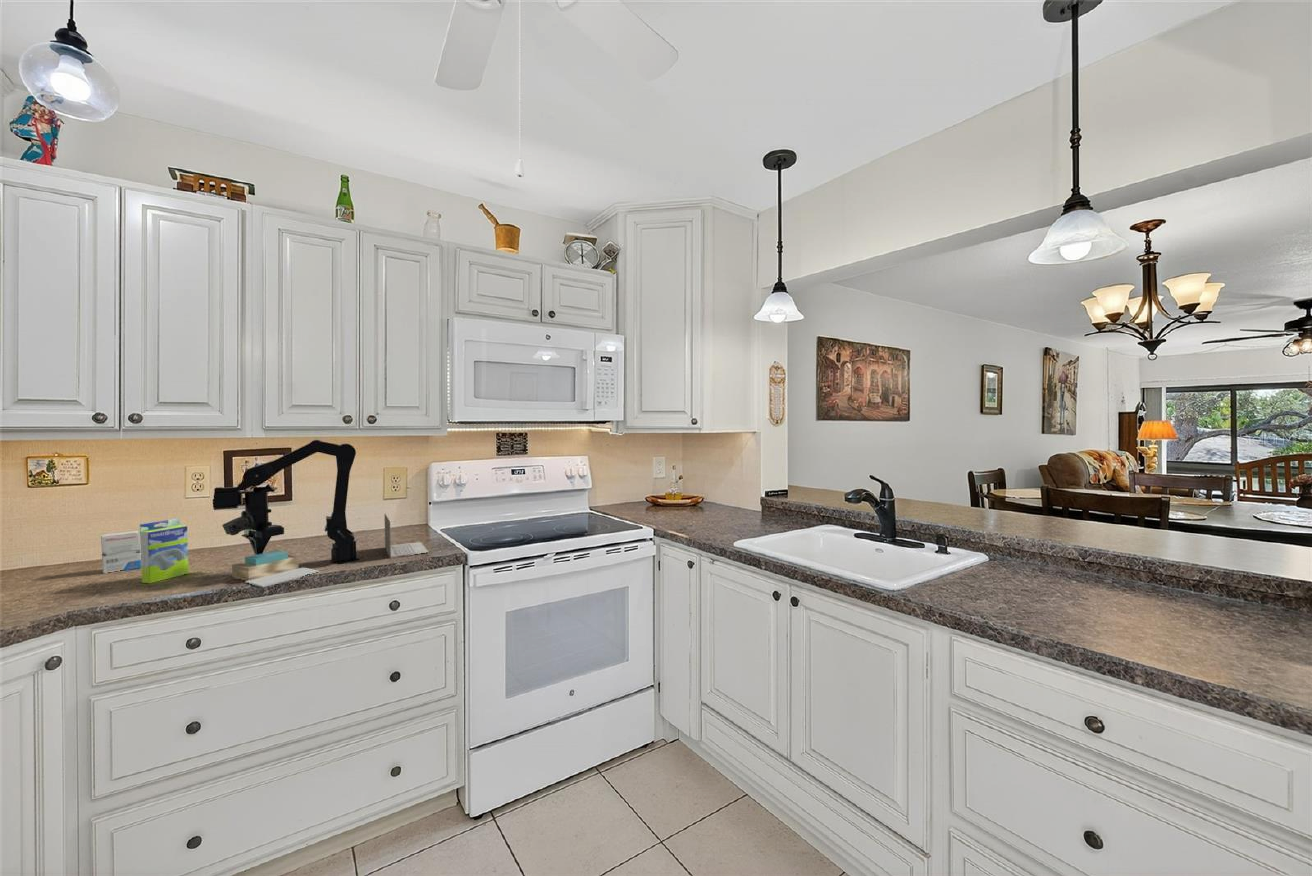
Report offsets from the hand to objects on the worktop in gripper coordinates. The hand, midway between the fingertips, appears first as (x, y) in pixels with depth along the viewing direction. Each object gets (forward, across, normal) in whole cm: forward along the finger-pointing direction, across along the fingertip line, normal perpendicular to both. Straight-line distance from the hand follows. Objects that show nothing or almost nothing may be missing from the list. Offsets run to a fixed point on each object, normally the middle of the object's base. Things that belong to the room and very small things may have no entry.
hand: (258, 556), depth 164 cm
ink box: (+5, -42, -18) cm, 46 cm away
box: (+5, -18, -16) cm, 25 cm away
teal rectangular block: (+1, +5, 0) cm, 5 cm away
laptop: (+6, +18, +39) cm, 43 cm away
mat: (+5, +14, 0) cm, 14 cm away
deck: (+5, +4, 0) cm, 7 cm away
